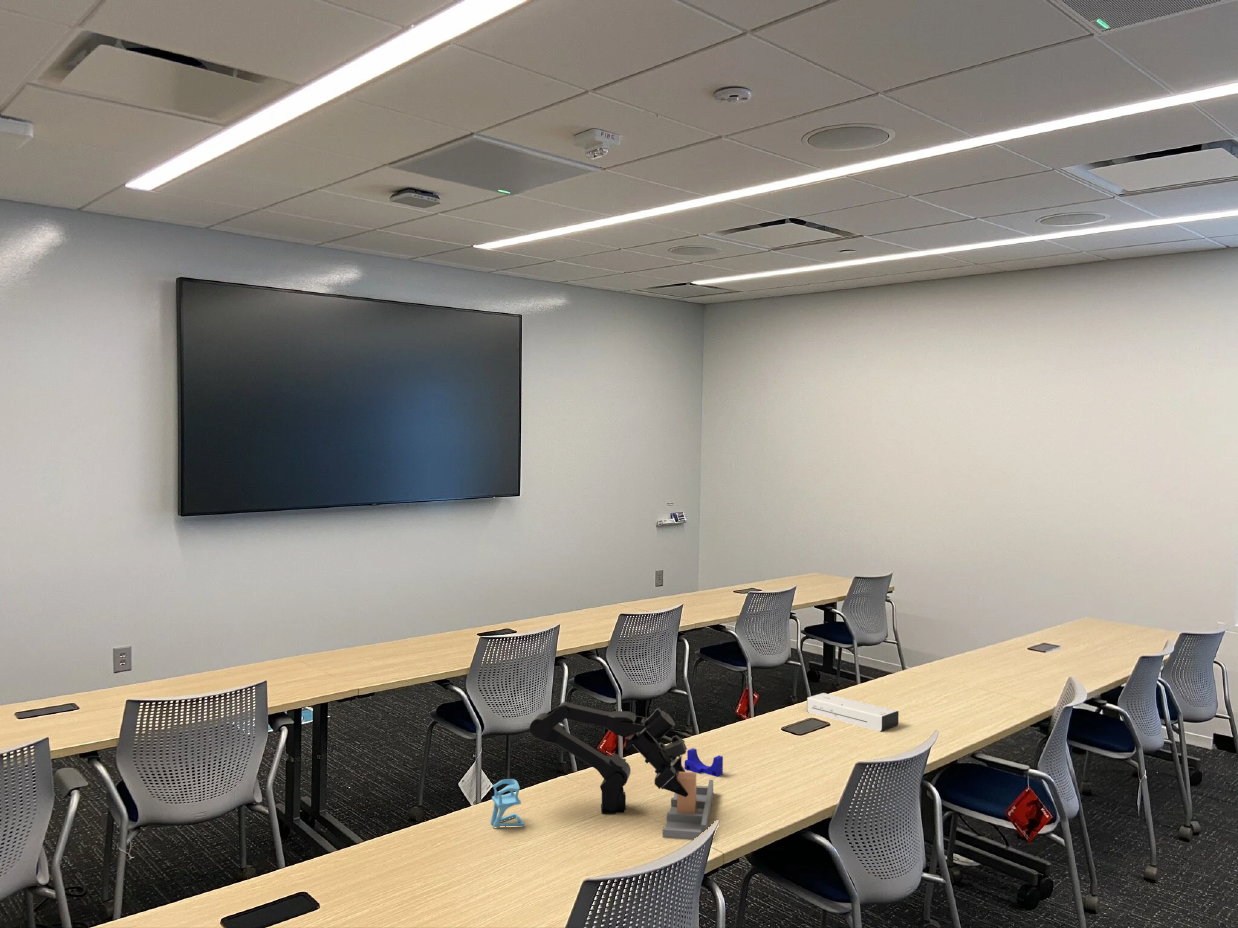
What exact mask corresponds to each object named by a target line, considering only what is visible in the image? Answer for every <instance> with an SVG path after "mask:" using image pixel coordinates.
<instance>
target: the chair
mask: <svg viewBox="0 0 1238 928" xmlns="http://www.w3.org/2000/svg"><path fill="white" fill-rule="evenodd" d="M504 784H506V786H505V787H503V788H502V789H500V790H499V791H497V788H499V786H501V785H504ZM492 788H493V790H494V791H493V792H494V795H493V796H491V800H492V801H493V804H494V805H493V810H492V815H491V819H490V825H491V824H493V825H492V827H493V826H494V827H500V826H505V827H506V826H524V827H525V822H524V821H523V819H522V818H521V817H520V816H519V815H518V813H511V814H508V815H506V816H504V814H505V812H506V811H507V810H508V809H509V808H511V807H514V806H517V805H521V804H522V800H521V799H520V798H519V792H520V789H521V788H520V785H519V782H518V781H517V780H516V779H514V778H509V779H508V778H505V779H502V780H499V781H498V782H496V783H495V784H493V785H492ZM507 792H509V793H507ZM504 793H506V794H504ZM512 817H516V818H517V819H516V818H515V819H516V820H517V822H513V823H511V822H509V823H508V822H507V823H505V821H504V820H506V821H508V819H509V818H512ZM512 819H513V818H512ZM509 820H510V819H509ZM501 821H504V823H503V822H501ZM499 822H501V823H499ZM519 822H520V823H519Z"/></svg>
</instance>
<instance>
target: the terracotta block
mask: <svg viewBox="0 0 1238 928" xmlns="http://www.w3.org/2000/svg"><path fill="white" fill-rule="evenodd" d="M677 778H678V780H679V781H680V783H681V784H682V785H683V787H684V788H685V790H686V791H687V793H688V796H687V797H684V796H682V795H679V794H677V812H678V813H693V814H696V786H697V773H695V772H692V771H685V772H679V773H678V777H677Z"/></svg>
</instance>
